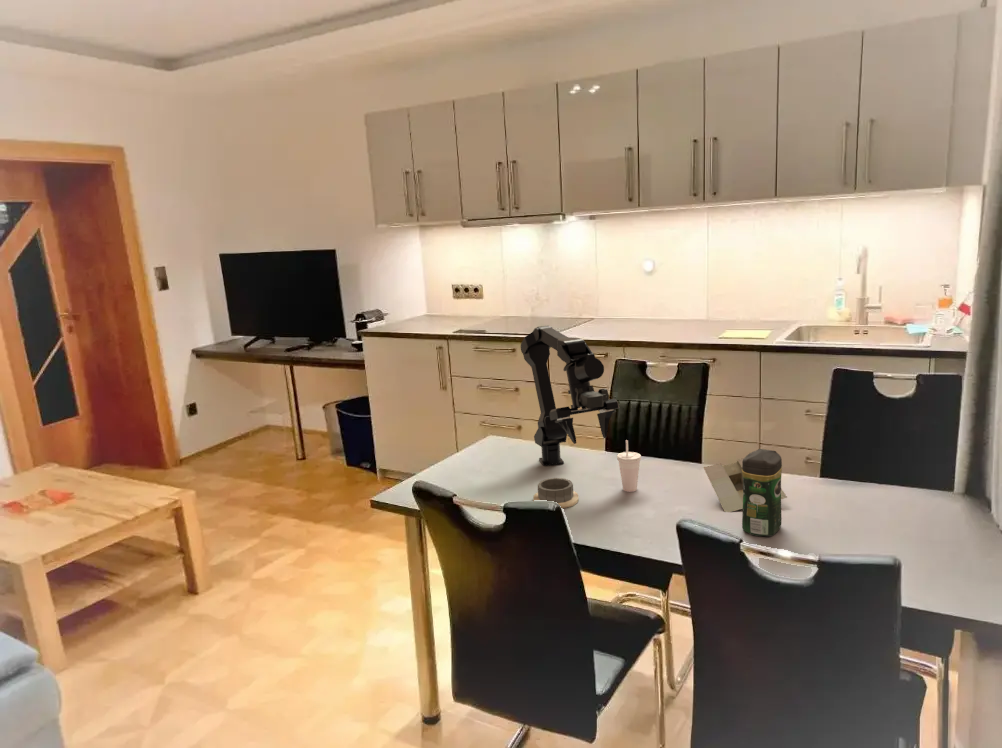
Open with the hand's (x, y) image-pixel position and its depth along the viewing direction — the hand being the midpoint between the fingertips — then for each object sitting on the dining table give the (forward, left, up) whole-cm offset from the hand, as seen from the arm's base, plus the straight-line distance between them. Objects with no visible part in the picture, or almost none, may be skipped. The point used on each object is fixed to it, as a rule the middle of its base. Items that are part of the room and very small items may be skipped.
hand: (590, 440), depth 193 cm
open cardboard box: (+20, +34, -14) cm, 42 cm away
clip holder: (+5, -11, -14) cm, 18 cm away
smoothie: (+4, +10, -14) cm, 17 cm away
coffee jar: (+37, +30, -14) cm, 49 cm away
